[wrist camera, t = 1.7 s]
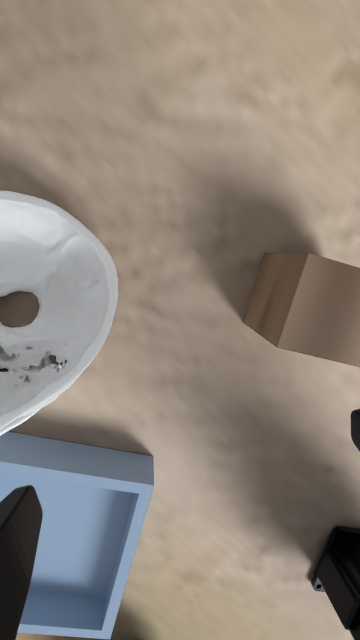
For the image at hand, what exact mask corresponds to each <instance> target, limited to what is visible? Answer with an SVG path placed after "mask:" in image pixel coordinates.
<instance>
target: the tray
mask: <svg viewBox="0 0 360 640" xmlns="http://www.w3.org/2000/svg"><path fill="white" fill-rule="evenodd" d="M26 485H32V486H33V487H34V488H35V490H36V493H37V496H38V499H39V501H40V504H41V507H42V511H43V518H42V524H41V529H40V535H39V540H38V546H37V551H36V557H35V563H34V568H33V574H32V578H31V583H30V588H29V592H28V595H27V599H26V603H25V606H24V610H23V614H22V617H21V621H20V625H19V628H18V632H17V633H30V634H44V635H57V636H70V637H83V638H96V639H109V640H110V638H111V635H112V631H113V628H114V624H115V621H116V617H117V614H118V610H119V606H120V603H121V599H122V596H123V592H124V589H125V585H126V582H127V578H128V575H129V571H130V568H131V564H132V561H133V557H134V554H135V550H136V547H137V543H138V540H139V536H140V532H141V529H142V525H143V522H144V518H145V515H146V511H147V508H148V504H149V501H150V497H151V494H152V490H153V487H154V467H153V456H148V455H143V454H137V453H131V452H125V451H119V450H113V449H107V448H101V447H95V446H90V445H84V444H78V443H72V442H66V441H60V440H54V439H48V438H43V437H37V436H31V435H25V434H19V433H13V432H6V433H4V434H2V435H1V436H0V502H1V501H2V500H3V499H4V498H5V497H6V496H7V495H8V494H10V493H11V492H12V491H13V490H14V489H15V488H18V487H22V486H26Z"/></svg>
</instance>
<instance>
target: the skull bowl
mask: <svg viewBox="0 0 360 640" xmlns="http://www.w3.org/2000/svg"><path fill="white" fill-rule="evenodd" d="M16 291H24V292H32V293H33V294H34V295H35V296H37V298H38V302H39V312H38V315H37V317H36V318H35V319H34V320H33V322H32V323H31V324H29V325H27V326H24V327H14V328H10V327H6V326H3V325H2V323H1V322H0V369H2V368H7V369H8V370H9V371H8V372H0V436H1V435H2V434H4V433H6V432H7V431H9V430H10V429H12V428H14V427H16V426H18V425H20V424H21V423H23V422H25V421H26V420H27V419H29V418H30V417H32V416H33V415H34V414H35V413H37V412H38V411H39V410H40V409H41V408H42V407H44V406H46V405H47V404H49V403H51V402H52V401H53V400H55V399H56V398H57V397H58V396H59V395H60V394H61V393H63V392H64V391H66V390H67V389H68V388H69V387H70V386H71V385H72V384H73V383H74V382H75V381H76V379H77V378H78V377H79V376H80V374H81V373H82V372H83V371H84V370H85V369H86V368H87V367H88V366H89V365H90V363H91V362H92V361H93V359H94V358H95V357H96V355H97V354H98V353H99V351H100V350H101V348H102V347H103V345H104V342H105V340H106V338H107V336H108V334H109V331H110V329H111V325H112V322H113V319H114V314H115V310H116V305H117V300H118V277H117V272H116V267H115V264H114V262H113V260H112V257H111V255H110V254H109V252H108V251H107V249H106V248H105V246H104V245H103V244H102V243H101V242H100V241H99V240H98V239H97V237H96V236H95V235H94V234H93V233H92V232H91V231H90V230H88V229H87V228H86V227H85V226H84V225H83V224H82V223H81V222H80V221H78V220H77V219H76V218H74V217H73V216H72V215H70V214H69V213H68V212H67V211H65V210H63V209H62V208H60V207H58V206H56V205H55V204H52V203H51V202H49V201H46V200H43V199H40V198H37V197H34V196H30V195H26V194H21V193H17V192H12V191H2V190H0V297H2V296H6V295H8V294H9V293H12V292H16ZM60 368H61V369H60ZM14 370H15V371H14ZM58 370H60V371H59V372H58Z"/></svg>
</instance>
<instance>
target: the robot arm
mask: <svg viewBox="0 0 360 640" xmlns="http://www.w3.org/2000/svg"><path fill="white" fill-rule="evenodd" d="M351 437H352V440H353V442H354V444H355V445H356V447H357V448H358V450H359V451H360V409H357V410H354V411H352V413H351ZM42 518H43V511H42V507H41V504H40V501H39V499H38V496H37V493H36V490H35V488H34V487H33V486H32V485H26V486H22V487H18V488H15V489H14V490H13V491H12V492H11V493H10V494H8V495H7V496H6V497H5V498H4V499H3V500H2V501H1V502H0V640H15V639H16V635H17V632H18V628H19V625H20V621H21V617H22V614H23V610H24V606H25V603H26V599H27V595H28V592H29V588H30V583H31V578H32V574H33V568H34V563H35V557H36V551H37V546H38V540H39V535H40V529H41V524H42ZM311 584H312V586H313V588H314V590H315V591H321V592H326V593H327V595H328V597H329V599H330V601H331V603H332V605H333V607H334V609H335V611H336V613H337V615H338V616H339V618H340V620H341V622H342V624H343V626H344V627H345V629H347V630H349V631H350V632H351V634H352V636H353V638H354V640H360V530H358V529H351V528H344V527H336V528H335V529H334V530H333V532H332V534H331V536H330V539H329V541H328V544H327V546H326V548H325V551H324V553H323V555H322V558H321V560H320V562H319V565H318V567H317V570H316V572H315V574H314V577H313V579H312V581H311Z"/></svg>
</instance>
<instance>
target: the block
mask: <svg viewBox="0 0 360 640" xmlns="http://www.w3.org/2000/svg"><path fill="white" fill-rule="evenodd" d="M243 323H245V324H246V325H247V326H249V327H250V328H251V329H253V330H254V331H255V332H257V333H258V334H260V335H261V336H262V337H264V338H265V339H266V340H268V341H269V342H270V343H272V344H273V345H275V346H276V347H277V348H282V349H286V350H290V351H294V352H298V353H303V354H307V355H311V356H315V357H319V358H323V359H328V360H332V361H336V362H340V363H344V364H349V365H353V366H357V367H360V268H358V267H355V266H351V265H348V264H344V263H341V262H338V261H334V260H331V259H327V258H324V257H321V256H317V255H314V254H310V253H265V254H264V257H263V260H262V263H261V267H260V270H259V273H258V276H257V279H256V283H255V286H254V289H253V292H252V296H251V299H250V302H249V305H248V308H247V312H246V315H245V318H244V321H243Z"/></svg>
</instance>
